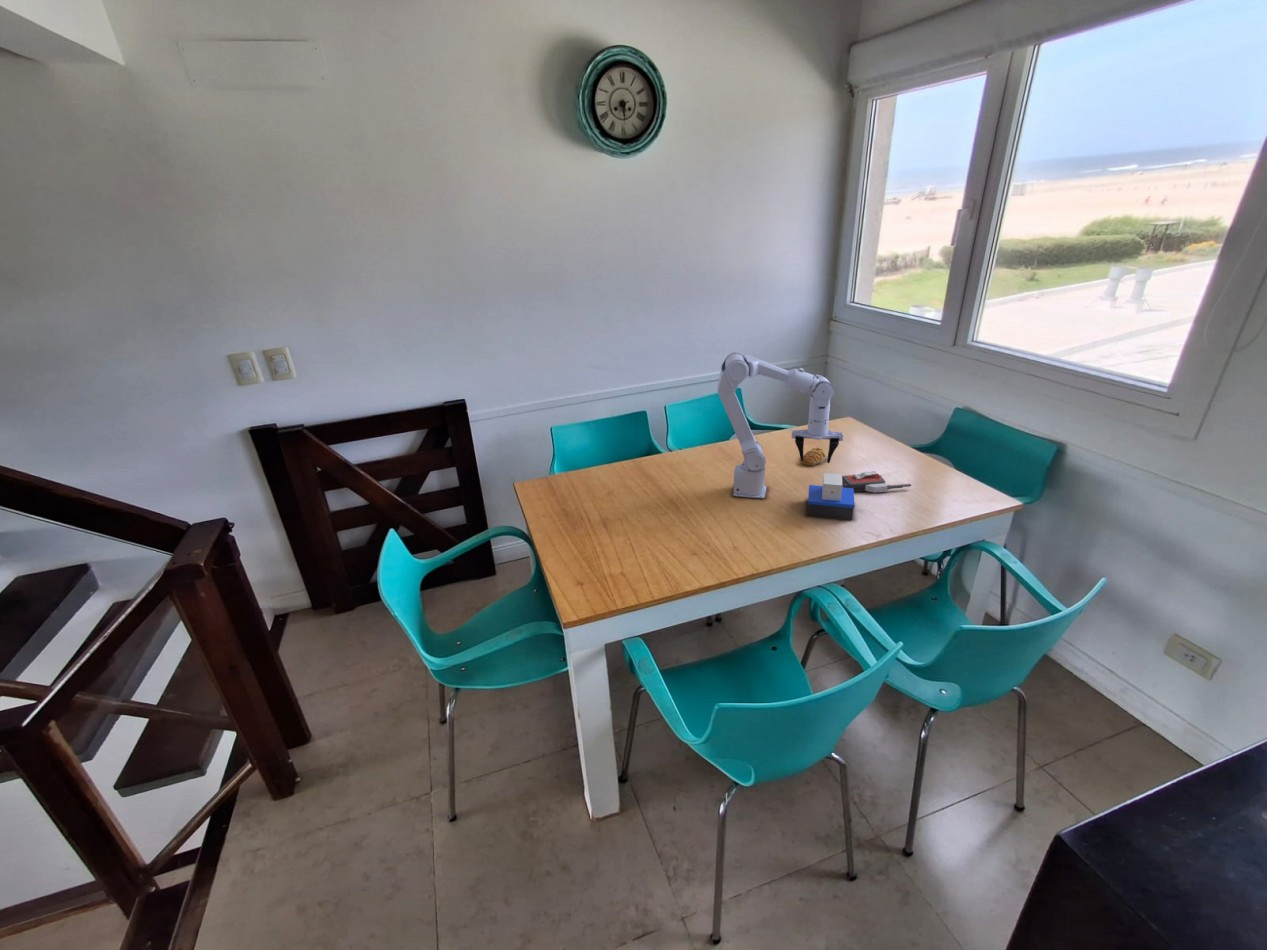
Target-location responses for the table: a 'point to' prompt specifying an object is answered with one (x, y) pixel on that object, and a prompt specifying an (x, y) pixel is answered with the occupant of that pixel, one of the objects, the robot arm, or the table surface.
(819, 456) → the pastry
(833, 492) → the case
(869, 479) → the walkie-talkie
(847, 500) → the container
